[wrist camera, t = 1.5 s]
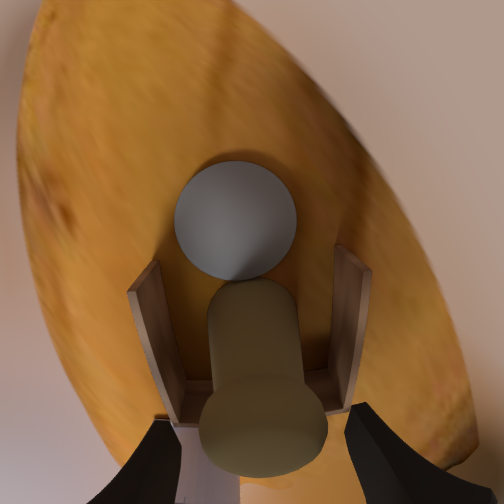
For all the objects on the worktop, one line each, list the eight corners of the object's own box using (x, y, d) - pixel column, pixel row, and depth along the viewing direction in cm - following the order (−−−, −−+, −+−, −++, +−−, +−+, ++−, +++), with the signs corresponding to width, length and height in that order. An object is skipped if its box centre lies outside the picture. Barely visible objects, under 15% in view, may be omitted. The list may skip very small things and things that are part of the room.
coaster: (296, 271, 18) (298, 275, 17) (185, 280, 18) (183, 284, 17) (291, 157, 16) (293, 156, 15) (170, 168, 15) (167, 168, 15)
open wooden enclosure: (332, 371, 20) (349, 411, 16) (182, 384, 20) (173, 427, 16) (341, 244, 17) (372, 270, 13) (151, 260, 17) (126, 291, 13)
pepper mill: (252, 366, 20) (264, 499, 9) (188, 318, 18) (152, 460, 8) (314, 314, 19) (374, 446, 8) (251, 257, 17) (270, 391, 7)
